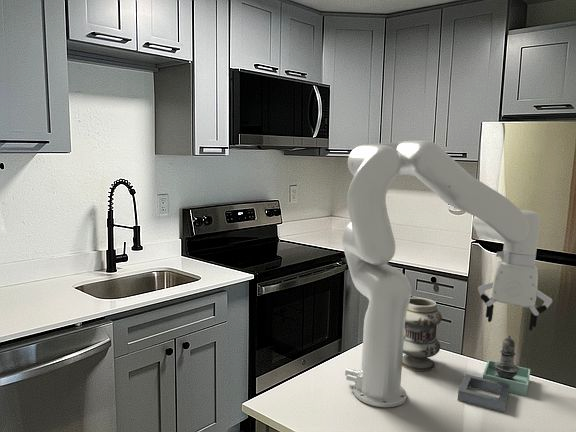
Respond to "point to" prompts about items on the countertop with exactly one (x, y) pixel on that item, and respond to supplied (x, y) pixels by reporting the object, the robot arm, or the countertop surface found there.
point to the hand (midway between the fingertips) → (509, 324)
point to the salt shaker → (507, 361)
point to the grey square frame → (483, 399)
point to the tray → (515, 386)
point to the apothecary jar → (420, 334)
